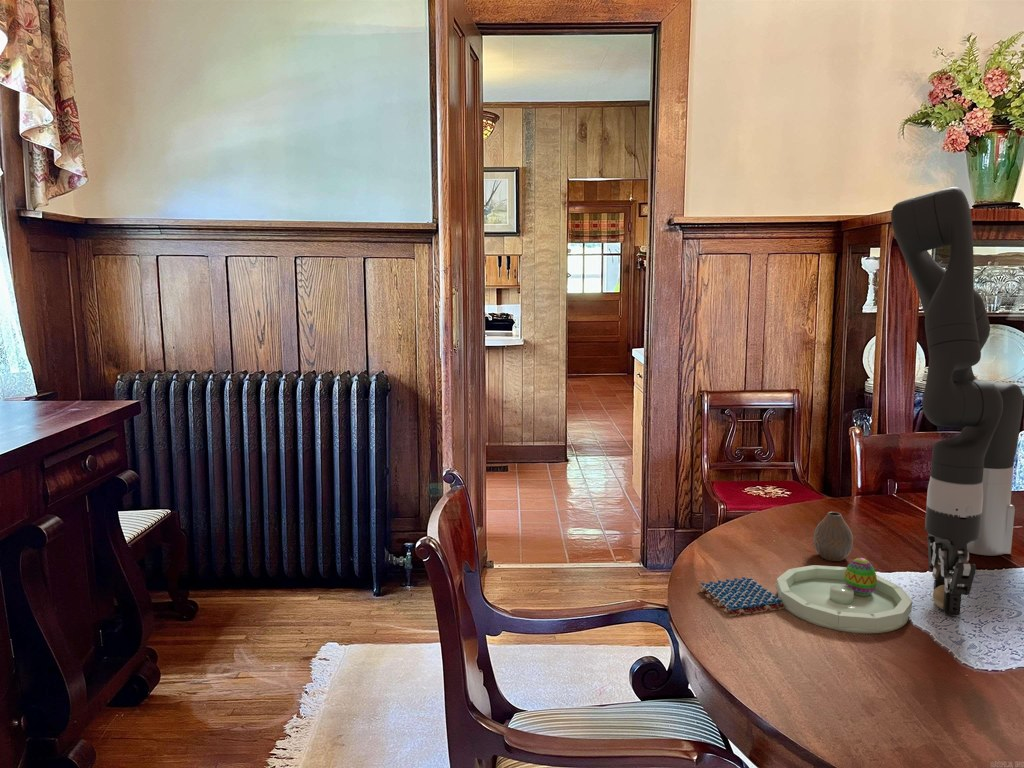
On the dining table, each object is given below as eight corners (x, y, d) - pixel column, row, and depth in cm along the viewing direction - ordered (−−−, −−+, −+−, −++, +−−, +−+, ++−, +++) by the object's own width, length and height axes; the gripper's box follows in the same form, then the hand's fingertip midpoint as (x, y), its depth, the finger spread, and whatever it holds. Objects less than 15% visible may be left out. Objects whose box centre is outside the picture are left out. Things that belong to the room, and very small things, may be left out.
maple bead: (954, 604, 118) (956, 581, 117) (964, 615, 114) (966, 592, 114) (928, 602, 119) (929, 579, 118) (936, 613, 115) (938, 590, 114)
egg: (838, 591, 122) (839, 557, 121) (852, 583, 125) (854, 550, 124) (866, 601, 118) (868, 566, 117) (881, 593, 121) (883, 559, 120)
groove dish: (887, 584, 126) (888, 569, 126) (927, 638, 107) (928, 622, 107) (770, 576, 130) (771, 562, 130) (788, 627, 111) (788, 611, 111)
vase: (856, 565, 134) (858, 520, 133) (816, 563, 136) (819, 518, 135) (846, 551, 141) (849, 508, 140) (809, 549, 143) (811, 507, 141)
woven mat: (729, 621, 115) (730, 609, 115) (697, 593, 125) (697, 582, 125) (787, 612, 117) (787, 600, 117) (750, 585, 128) (750, 574, 127)
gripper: (913, 491, 121) (906, 588, 124) (944, 519, 108) (936, 627, 110) (962, 493, 120) (954, 591, 122) (1000, 522, 106) (991, 631, 109)
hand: (946, 607), depth 116 cm, fingers closed on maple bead, 4 cm apart
